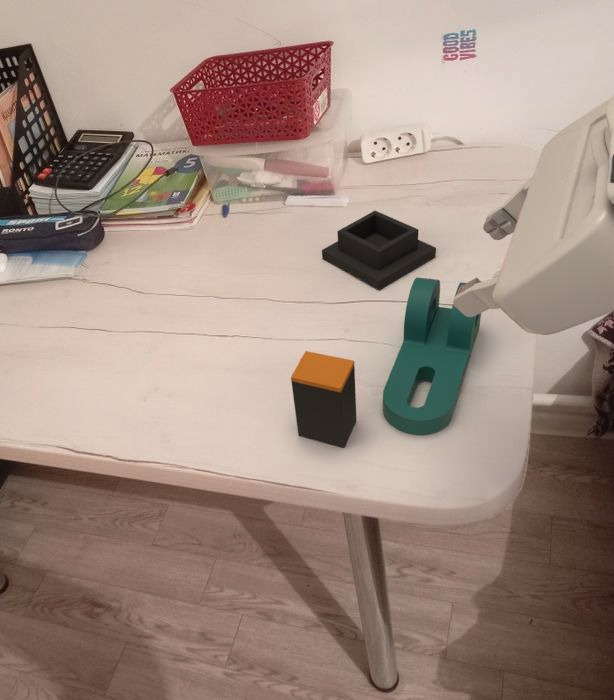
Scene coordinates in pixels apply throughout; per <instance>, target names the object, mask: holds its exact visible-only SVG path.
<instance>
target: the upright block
mask: <svg viewBox="0 0 614 700" xmlns="http://www.w3.org/2000/svg"><path fill="white" fill-rule="evenodd" d="M355 369H356V368H355V360H353V359H348V358H343V357H339V356H334V355H333V356H332V355H328V354H323V353H318V352H313V351H308V350H305V351H304V353H303V355H302V356H301V358H300V360H299V362H298V364H297V365H296V368H295V369H294V370H293V373H292V375H291V376H290V381H291V388H292V397H293V403H294V411H295V420H296V426H297V434H298V437H303V438H306V439H309V440H312V441H313V440H314V441H317V442H320V443H323V444H328V445H331V446H334V447H338V448H342V449H345V448H346V445H347V444H348V441H349V438H350V437H351V434H352V432H353V429H354V427H355V425H356V423H357V397H356V396H357V395H356V394H357V393H356V371H355Z"/></svg>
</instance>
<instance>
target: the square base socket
mask: <svg viewBox="0 0 614 700" xmlns="http://www.w3.org/2000/svg"><path fill="white" fill-rule="evenodd" d="M419 231H420V230H419V228H416V227H415V226H412V225H410V224H407V223H405V222H403V221H400V220H398V219H396V218H394V217H391V216H389V215H387V214H384V213H382V212H379V211H378V210H373V211H372V212H369V213H368V214H366V215H364V216H362V217H360V218H359V219H357V220H355V221H354V222H352V223H349V224H348V225H345V226H344V227H342V228H340V229H339V230H337V241H335V242H334V243H331V244H330V245H328V246H326V247H325V248H323V249H322V250H321V258H322V260H324V261H326V262H327V263H329V264H331V265H333V266H335V267H337V268H338V269H339V270H342V271H344V272H346V273H347V274H349V275H351V276H352V277H354V278H356V279H358V280H359V281H361V282H363V283H364V284H367V285H368V286H370V287H372V288H373V289H375V290H378V291H381V290H382V289H383V288H386V287H387V286H389V285H391V284H392V283H394V282H395V281H398V280H399V279H401V278H403V277H404V276H406V275H407V274H409V273H411V272H412V271H414V270H416V269H418V268H419V267H421V266H423V265H425V264H426V263H428V262H429V261H431V260H432V259H434V258H436V256H437V247H435V246H433V245H431V244H429V243H427V242H424V241H422V240H420V239H419Z"/></svg>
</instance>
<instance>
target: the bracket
mask: <svg viewBox="0 0 614 700" xmlns="http://www.w3.org/2000/svg"><path fill="white" fill-rule="evenodd" d="M467 283H468V282H462V281H461V282H459V284H458V286H457V288H456V291H455V295H454V297H455V296H456V294H457V291H458V289H459V288H460V287H461V286H462V285H466V284H467ZM440 296H441V280H439V279H434V278H427V277H425V278H424V277H416V278H414V280H413V282H412V284H411V287H410V289H409V293H408V297H407V302H406V307H405V313H404V319H403V321H404V322H403V340H402V344H401V345H400V348H399V350H398V352H397V356H396V357H395V361H394V363H393V365H392V368H391V370H390V373H389V376H388V378H387V380H386V383H385V385H384V388H383V391H382V414H383V417H384V418H385V420H386V421H387V423H388V424H389V425H390V426H392V427H393V428H395V429H396V430H398V431H400V432H402V433H404V434H409V435H416V436H426V435H432V434H436V433H438V432H440V431H442V430H443V429H445V428H446V427H447V426H449V424H450V423H451V421H452V418H453V416H454V412H455V409H456V405H457V402H458V399H459V395H460V392H461V389H462V386H463V383H464V379H465V377H466V376H465V375H466V372H467V369H468V366H469V363H470V359H471V356H472V353H473V349H474V346H475V344H476V340H477V336H478V333H479V330H480V325H481V319H482V313H480V314H478V315H476V316H474V317H467V316H465V315H464V314H462V313H461V312H460V311H459V310H458V309H457V308H456V307H455V306H454V304H453V303H452V306H451V308H450V307H445V306H440ZM421 382H429V383H431V384H430V386H429V390H428V392H427V396H426V399H425V401H424V403H423V404H422V406H418V407H414V406H412V405H411V404H412V401H413V398H414V395H415V393H416V390H417V387H418V385H419V383H421Z"/></svg>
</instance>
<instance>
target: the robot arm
mask: <svg viewBox="0 0 614 700" xmlns="http://www.w3.org/2000/svg"><path fill="white" fill-rule="evenodd" d="M482 229H483V231H484V232H485V233H486V234H488V235H489V236H490V238H492V239H493V240H495V241H501V240H503V239H504V238H506V237H507V236H509V235H512V236H511V239H510V242H509V243H508V244H509V245H508V248H507V250H506V252H505V253H506V254H505V256H504V260H503V262H502V265H501V268H500V270H497V271H495V273H493V274H492V275H493V276H492V278H491V279H487V280H483V281H481V280H480V279H479V278H478V277H475V278H473V279H471V280H469V281H468V282H466V283H467V284H466V285H462V286H461V287H460V288H459V289H458V291H457V290H456V291H457V294H456V293H455V294H456V296H455V295H454V298H453V300H452V305H453V304H454V306H455V307H456V308H457V309H458V310H459V311H460V312H461V313H462V314H464V315H465V316H467V317H474V316H476V315H478V314H480V313H481V314H482V313H485V312H486V311H488V310H498V309H499V310H501V311H502V312H503V313H504V314H505V315H506V316H507V317H509V319H511V321H513V322H514V323H515V324H517V326H518V327H520V329H522V330H523V331H524V332H526V333H529V334H532V335H540V336H541V335H542V336H549V335H554V334H557V333H560V332H563V331H566V330H569V329H571V328H575V327H577V326H581V325H582V324H585V323H587V322H590V321H592V320H595V319H598V318H600V317H602V316H605V315H607V314H610V313H612V312H614V95H612V96H611V97H610V98H608V99H607V100H605V101H604V102H603V103H601V104H600V105H597V106H596V107H595V108H593V109H590V111H588V112H587V113H585V114H583V115H582V116H580V117H579V118H578V119H576V120H574V121H573V122H571V123H569V124H568V125H566V126H565V127H563V128H562V129H561V130H559V131H558V132H557V133H556V134H554V136H552V138H550V139H549V140H548V142H546V143H545V144H544V146H543V147H542V149H541V152H540V154H539V157H538V160H537V163H536V166H535V169H534V171H533V175H532V177H531V178H529V179H528V180H526V181H525V182H524V183H523V184H522V185H521V186H520V187H519V188H518V189H516V191H515V192H514V193H513V194H512V195H511V196H510V197H509V198H508V199H506V201H505V202H504V203H503V204H501V205H500V206H498V207H497V208H496V209H494V210H492V211H491V212H489V213H488V214H487V215H486V217H485V220H484V224H483V227H482Z"/></svg>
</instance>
